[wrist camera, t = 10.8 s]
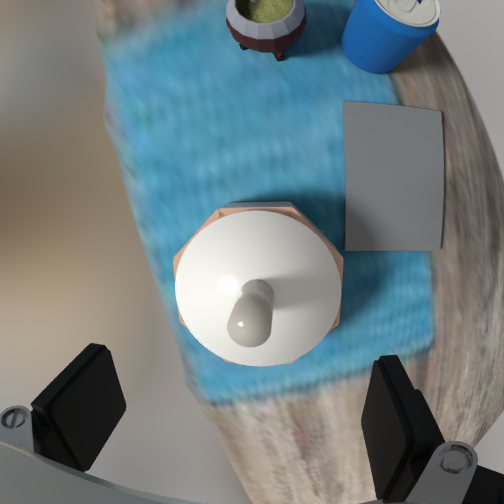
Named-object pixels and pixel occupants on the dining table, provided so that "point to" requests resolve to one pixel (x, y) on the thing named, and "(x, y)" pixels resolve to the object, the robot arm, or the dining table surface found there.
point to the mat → (393, 177)
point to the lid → (258, 288)
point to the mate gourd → (266, 24)
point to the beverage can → (387, 31)
